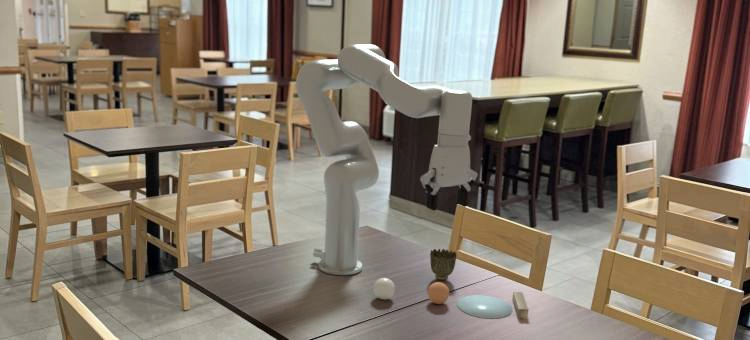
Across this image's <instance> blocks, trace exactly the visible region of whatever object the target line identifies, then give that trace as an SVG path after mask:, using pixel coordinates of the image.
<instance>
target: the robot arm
mask: <svg viewBox="0 0 750 340" xmlns="http://www.w3.org/2000/svg"><path fill="white" fill-rule="evenodd" d="M360 83H361V84H362V85H365V86H367V87H368V88H370V89H372V90H374V91H376V93H377V92H378V94H379V96H380V99H382V100H383V102H384V103H385V104H387V106H389V107H391V108H392V109H394V110H396V111H398V112H400V113H402V114H403V115H404V116H407V117H410V118H415V119H421V118H427V117H434V116H435V117H436V116H439V121H438V130H437V131H438V133H437V144H434V146H433V149H432V153H431V155H430V161H429V166H428V171H427V172H426V173H424V174H423V175H421V176H420V178H419V179H420V183H421V185H422V188H423V190H424V191H425V193H427V194H426V195H427V196H426V208H427V209H429V210H431V211H437V204H438V194H437V193H438V192H439V190H440V189H441V188H445V187H446V188H448V187H456V186H457V187H458V186H459V188H458V191H457V198H456V199H457V201H456V203H457V204H458V205H459V206H461V207H464V208H466V207H467V206H468V197H469V192H471V190H472V187H473V186H474V184H475V181H476V179H477V178H478V176H479V175H478V172H476V171H475V170H473V169H472V168H471V155H470V154H471V151H470V146H469V141H471V140H472V136H471V135H470V127H471V126H470V124H471V117H472V107H473V106H472V105H473V95H472V94H471V92H469V91H466V90H461V89H460V90H459V89H450V88H447V87H444V86H440V85H426V86H425V85H423V86H415V85H412V84H411V83H409V82H406V81H405V80H402V79H401V78H400V77H399V68H398V66H397V64H396V63H394V62H393V61H390V60H389V59H387V58H386V56H385V52H384V51H383V50H382V49H381V48H380V47H379V46H377V45H375V44H364V43H363V44H359V43H358V44H357V43H354V44H349V45H347V46H345V47H343V48H342V49H341V50H340V52H339V53H338V56H337V58H334V59H333V58H332V59H329V58H328V59H326V58H325V59H314V60H311V61H308V62H306V63H304V64H303V65H302V66H301V67H300V69H299V71H298V73H297V76H296V81H295V88H296V94H297V96H298V98H299V99H298V100H299V101H300V103H301V105H302V108H303V109H304V112H305V114H306V117H307V119H308V123H309V126H310V128H311V131H312V134H313V137H314V140H315V143H316V146H317V148H318V150H319V152H320V154H321V155H323V156H324V157H325V158H337V157H342V156H343V157H345V159H342V160H337V161H334V162H332V163H330V165H328V167H326V169H325V171H324V175H323V185H324V191H325V232H324V233H325V234H324V248H320V247H315V248H313V249H314V250H313V254H312V255H313V257H315V258H319V259H320V260H319V262H318V269H319V270H320V271H322V272H323V273H326V274H328V275H335V276H350V275H355V274H358V273H360V272H361V271H362V270H363V263H362V262H361V261H360V260H358V255H359V252H358V251H359V234H360V216H361V215H360V213H361V211H360V210H361V209H360V203H359V202H360V201H358V197H357V194H356V193H357V192H359V191H362V190H366V189H369V188H372V187H373V186H374V185H376V183H377V182H378V180H379V175H380V174H379V173H380V172H379V171H380V170H379V166H378V163H377V160H376V156H375V153H374V152H373V148H372V145H371V143H370V140H369V136H368V135H367V132H366V130H365V128H363V126H361V125H360V124H359V123H357V122H356V121H351V120H346V121H342V120H341V117H340V115H339V113H338V109H337V107H336V105H335V103H334V101H333V100H332V98H330V97H329V95H328V94H327V93H326V91H333V90H342V89H349V88H350V87H353V86H355V85H358V84H360Z"/></svg>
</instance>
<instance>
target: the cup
mask: <svg viewBox="0 0 750 340" xmlns="http://www.w3.org/2000/svg"><path fill="white" fill-rule="evenodd" d="M429 256H430V270H431V272H432V273H433V274H434V278H435V280H436V281H437V282H446V281H447V280H449V276H450V275H452V274H453V272H454V270H455V266H456V263H457V262H456V261H457V252H456V251H453V250H452V249H451V250H450V251H449V249H448V248H446V249H445V248H443V249H440V248H438V249H436V248H433V249H432V250H430V253H429Z"/></svg>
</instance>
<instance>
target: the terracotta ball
mask: <svg viewBox="0 0 750 340" xmlns="http://www.w3.org/2000/svg"><path fill="white" fill-rule="evenodd" d="M427 295H428V296H427V297H428V299H429V300H430V301H431V302H432V303H434V304H437V305H440V304H441V305H442V304H444V303H445V302H446V301H448V300H449V297H450V290H449V287H448V286H447V285H446V284H445V283H444V282H442V281H436V282H433V283H432V284H430V285H429V287H428V290H427Z"/></svg>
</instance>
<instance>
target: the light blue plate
mask: <svg viewBox="0 0 750 340" xmlns="http://www.w3.org/2000/svg"><path fill="white" fill-rule="evenodd" d="M456 304H457V308H458V309H459V310H460V311H462V312H463V313H465V314H467V315H470V316H473V317H477V318H481V319H482V318H483V319H492V320H493V319H503V318H505V317H509V315H511V314H512V312H513V308H512V305H511V304H510V303H509V302H507V301H505V300H504V299H501V298H498V297H494V296H490V295H482V294H481V295H480V294H472V295H467V296H463V297H461V298H459V299H458V300H457V302H456Z"/></svg>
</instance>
